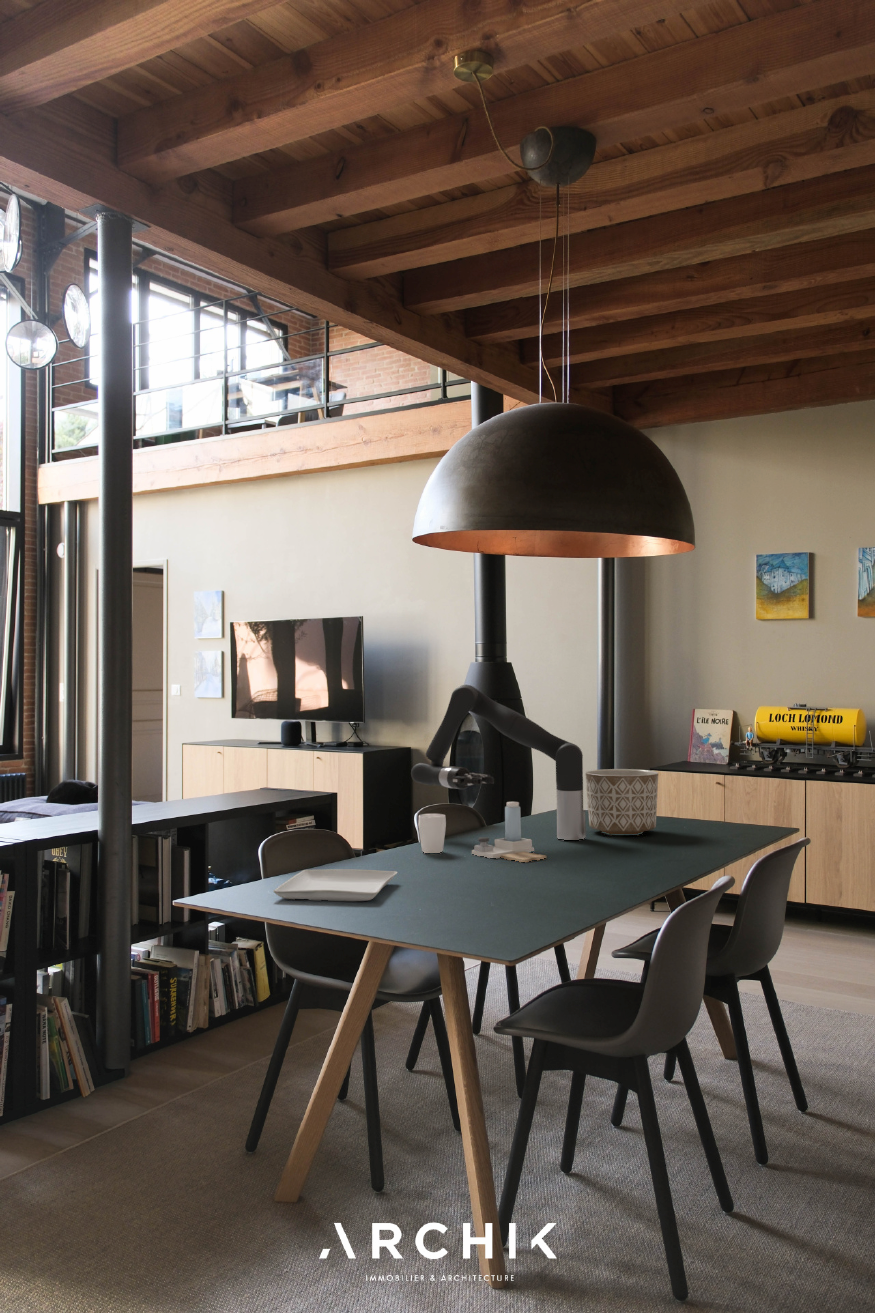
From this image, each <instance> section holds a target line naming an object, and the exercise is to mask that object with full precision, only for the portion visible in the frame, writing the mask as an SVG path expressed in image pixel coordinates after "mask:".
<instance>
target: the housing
mask: <svg viewBox="0 0 875 1313" xmlns="http://www.w3.org/2000/svg"><path fill="white" fill-rule="evenodd" d="M532 842H533V841H532V839H530V838H523V837H521V841H515V842H511V841H505V837H501V838H496V839H495V838H494V845H492V844H487V846H485V847H482V846H480V844H475V845H474V846H473V847H474V849H471V855H472V854H474V855H473V856H475V855H477V856H476V857H480V856H484V857H483V858H485V857H487V859H490V858H496V859H501V858H500V857H501V855H506V854H512V853H518V852H531V851H534V852H535V847H533V845H532V844H533V843H532Z"/></svg>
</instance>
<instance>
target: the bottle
mask: <svg viewBox="0 0 875 1313" xmlns="http://www.w3.org/2000/svg"><path fill="white" fill-rule="evenodd" d="M521 821H522V819H521V806H520V802H519V801H507V802H506V806H504V825H505V828H504V829H505V830H504V832H505V835H504V836H505V837H504V838H505V841H511V842H515V841H521V838H522V830H521V828H522V827H521V826H522V825H521V824H522V823H521Z"/></svg>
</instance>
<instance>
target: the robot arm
mask: <svg viewBox="0 0 875 1313" xmlns="http://www.w3.org/2000/svg"><path fill="white" fill-rule="evenodd" d="M469 712H471V713H473V714H475V715H477V716H479V717H481V718H483V719H484V720H486V721H487V722H488V723H490V725H492V726H493V728H495V729H496V730H497V731H498V732H500V733H501V734H502V735H504V736H506V737H507V738H508V739H511V740H512V741H515V742H516V743H518V744H520V745H523V746H525V747H528V748H531V749H534V750H536V751H539V752H540V753H543V754H544V755H546V756H548V757H549V758H551V759H552V760H553V761H554V762H555V784H556V839H557V838H558V839H564V840H579V839H583V840H585V839H586V838H587V836H586V835H587V834H586V811H585V810H584V778H583V775H584V774H583V773H584V772H583V771H584V770H583V769H584V768H583V767H584V766H583V765H584V764H583V760H584V757H583V756H584V755H583V751H582V749H581V747H579V746H578V745H577V744H575V743H572V742H569V741H567V740H565V739H562V738H561V737H558V736H556V735H554V734H552V733H550V732H549V731H548V730H546V729H545V728H544V727H542V726H540V725H539V724H537V723H536V722H534V721H532V720H531V719H530V718H528V717H526V716H524V715H523V714H522V713H519V712H517V711H515V710H514V709H511V708H509V707H507V706H506V705H503V704H501V703H498V702H497V701H495V700H493V699H491V698H490V697H489V696H487V695H485V694H484V693H483V692H481V691H480V690H479V689H477V688H476V687H474V686H473V685H470V684H462V685H460V686H458V687H456V688H455V689H454V690H453V691H452V693H451V697H450V700H449V703H448V707H447V709H446V712H445V715H444V716H443V720H442V721H441V723H440V725H439V726H438V729H437V730H436V733H435V734H434V736H433V738H432V740H431V741H430V744H429V746H428V747H427V750H426V752H425V756H426V758H427V759H428V760H429V761H430V764H427V763H424V762H423V763H422V762H419V763H416V764H415V765H413V767H412V768H411V770H410V771H411V772H410V776H411V779H412V780H413V781H414V782H416V783H419V784H422V785H427V786H430V787H431V786H438V787H443V788H449V789H456V790H457V789H458V790H465V789H467V788H469V786H473V785H476V786H480V785H482V784H485V785H486V784H489V785H490V784H491V785H492V784H495V778H494V776H491V774H483V773H475V772H470V771H469V770H468V768H466V767H462V766H451V765H449V766H445V765H444V760H445V758H446V757H447V754H448V753H449V751H450V749H451V748H452V744H453V743H454V741H455V740H454V739H455V737H456V734H457V732H458V730H459V728H460V725H461V723H462V721H463V720H464V719H465V718H466V716H467V715H468V714H469ZM585 837H586V838H585ZM584 838H585V839H584ZM558 839H557V840H558ZM564 840H563V841H564ZM579 841H580V840H579Z"/></svg>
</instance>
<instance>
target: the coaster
mask: <svg viewBox="0 0 875 1313" xmlns="http://www.w3.org/2000/svg"><path fill="white" fill-rule="evenodd" d="M501 858H504V859H503V860H506V859H507V861H511V860H515V861H514V862H516V861H519V862H518V863H521V862H525V863H530V862H529V861H531V862H533V861H532V860H537V861H541V860H540V859H543V860H545V859H544V858H546V859H547V855H545V854H539V853H535V852H533V853H529V852H518V853H512V854H506V855H501ZM501 858H500V859H501Z"/></svg>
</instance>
